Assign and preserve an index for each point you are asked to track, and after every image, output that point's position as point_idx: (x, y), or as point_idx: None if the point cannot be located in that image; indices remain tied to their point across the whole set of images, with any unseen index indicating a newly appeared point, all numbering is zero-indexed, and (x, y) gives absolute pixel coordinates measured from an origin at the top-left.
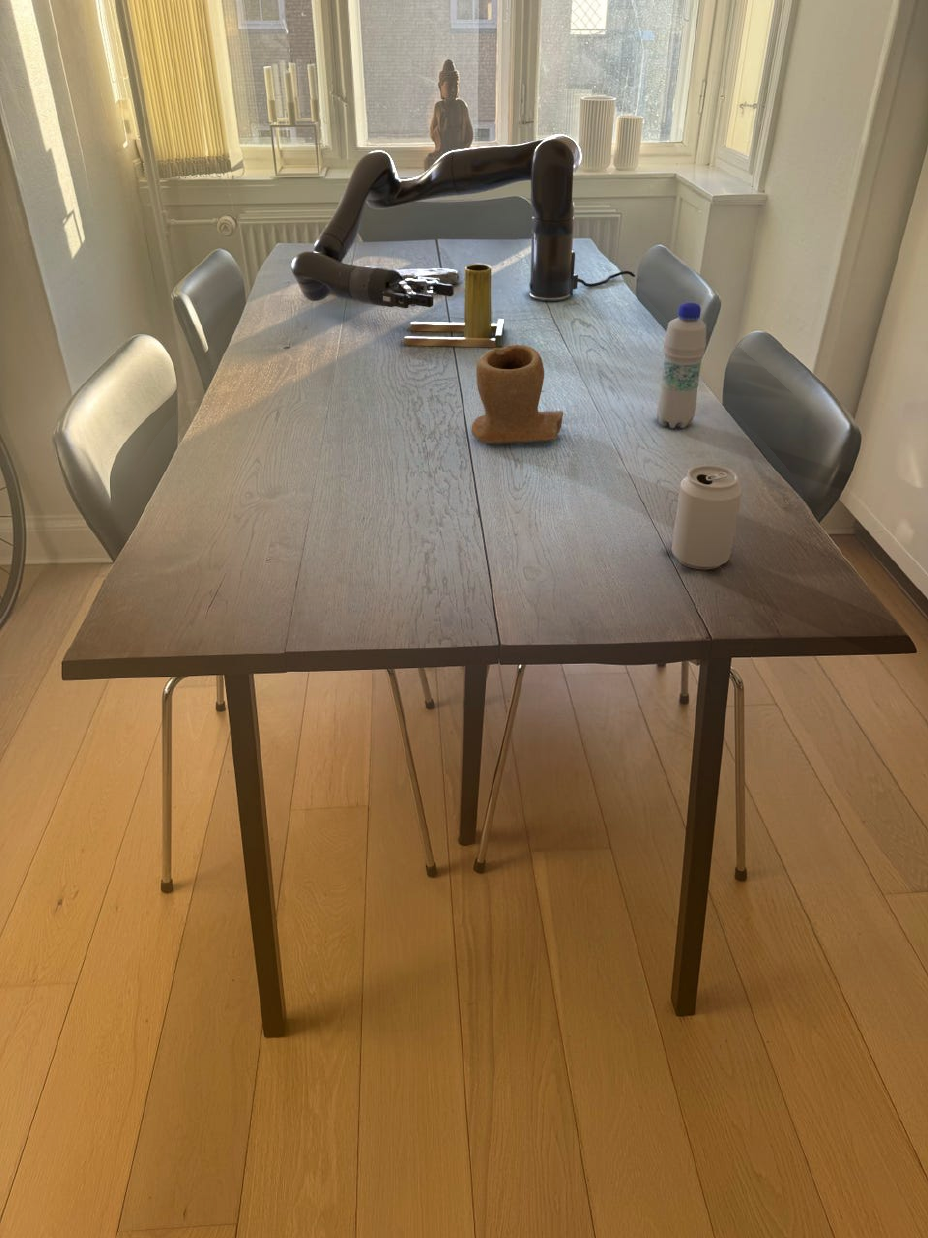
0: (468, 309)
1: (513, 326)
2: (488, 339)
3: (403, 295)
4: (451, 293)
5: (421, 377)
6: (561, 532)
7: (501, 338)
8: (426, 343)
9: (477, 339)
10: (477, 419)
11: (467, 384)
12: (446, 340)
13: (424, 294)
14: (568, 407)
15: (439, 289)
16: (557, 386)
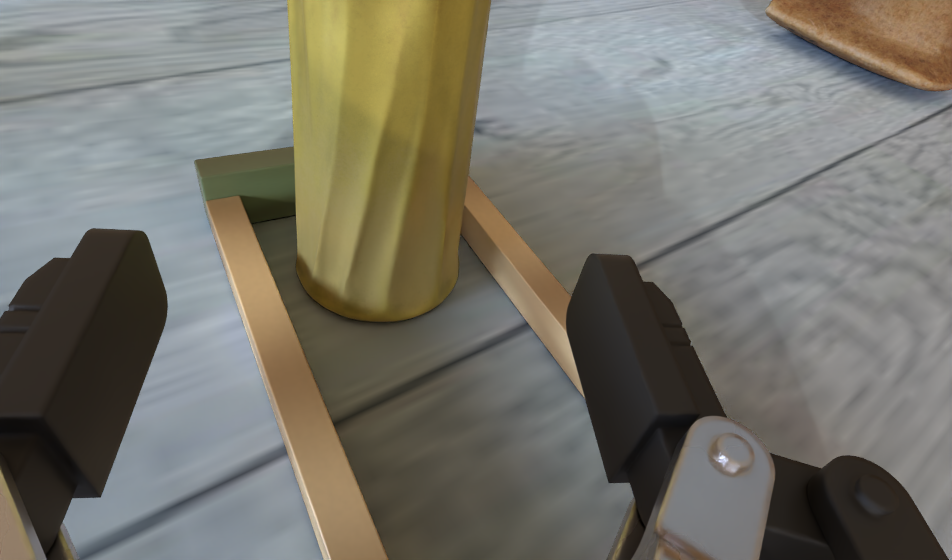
0: (471, 132)
1: (104, 201)
2: None
3: (899, 512)
4: (163, 290)
5: (898, 277)
6: None
7: None
8: None
9: (490, 207)
10: (935, 76)
11: (787, 165)
12: None
13: (628, 323)
14: (683, 29)
15: (100, 412)
16: (610, 46)
